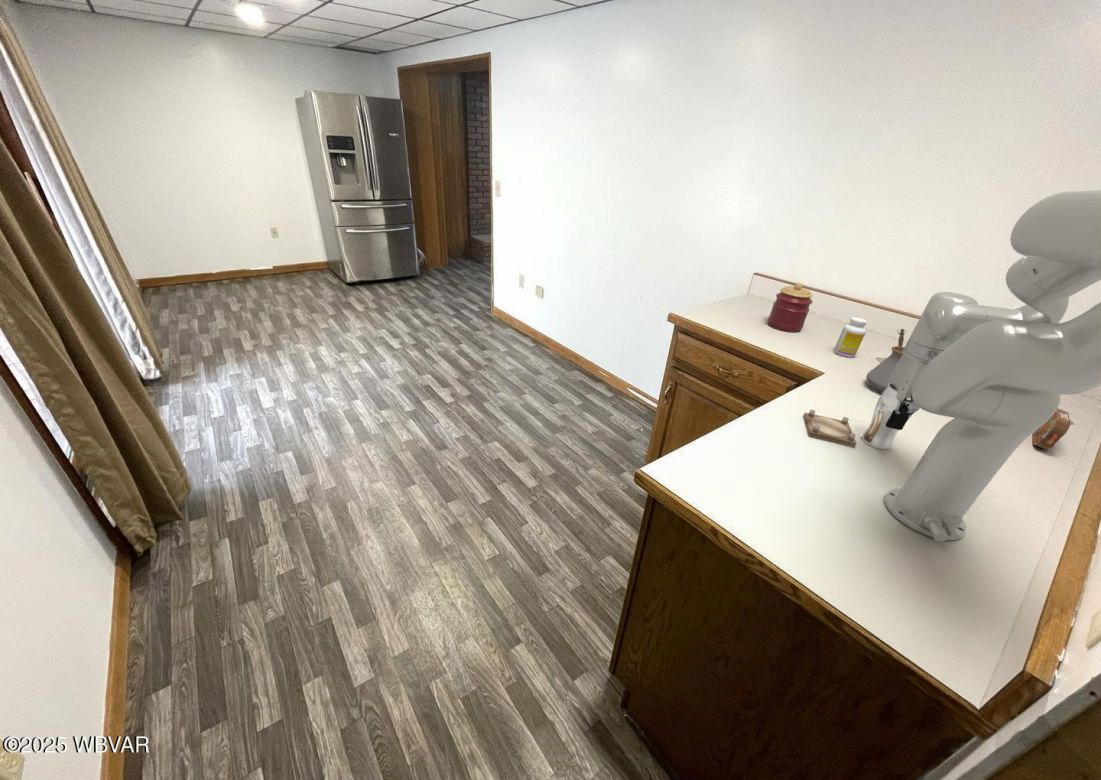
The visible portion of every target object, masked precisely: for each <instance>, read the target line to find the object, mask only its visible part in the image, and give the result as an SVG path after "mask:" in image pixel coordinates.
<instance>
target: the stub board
mask: <svg viewBox="0 0 1101 780" xmlns="http://www.w3.org/2000/svg"><path fill="white" fill-rule="evenodd" d="M803 420H804V425H805V428H806V432H807V435H808V437H809V438H814V439H817V440H818V439H819V440H821V441H825V442H831V443H835V444H838V445H843V446H848V447H851V448H856V446H857V444H858V442H857V440H856V436H857V434H855V433H854V432H853V431H852V428H851V426H850V424H849V418H848V417H846V416H843V417H842V420H841V419H837V418H832V417H828V416H823V415H818V414H816V410H815V409H810V410H809V412H804V414H803Z"/></svg>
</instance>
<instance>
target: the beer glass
mask: <svg viewBox="0 0 1101 780" xmlns="http://www.w3.org/2000/svg"><path fill="white" fill-rule="evenodd" d="M890 385H891V383H889V384H888V385H887V387H886V388H885V390H884V391H883V393H881V395H880V396H879V398H878V401H877V402H876V405H875V406H874V410H873V415H872V418H871V422H870V424H869V426H868V428H867V429H866V430H865V432H863V433H862V435H861V439H862V441H863V442H864V443H865V444H867V445H868V446H870V447H872V448H875V449H877V450H884V451H885V450H886V451H887V450H890V449H892V446H893V445H892V444H893V442H894V438H895V437H896V435H897V433H898V432H899V431H900V430H897V429H892V428H888V427H886V425H885V424H886V423H887V421H888V419H889V417H890V415H891V414H892V412H893V411H894V412H895V410H896V407H897V403H898V400H897V399H896V395H897V391H896V390H894V389H893V388H891V387H890ZM904 401H908V402H910V401H911V398H905V399H904ZM908 406H909V405H908V404H903V405H902V408H904V407H908ZM912 416H913V414H912ZM910 419H911V417H909V419H908V420H907V422H908V421H909V420H910Z"/></svg>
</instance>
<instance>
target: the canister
mask: <svg viewBox="0 0 1101 780" xmlns="http://www.w3.org/2000/svg"><path fill="white" fill-rule="evenodd" d="M779 291H780V292H779V293H778V292H777V293H776V294H775V296H776V299H775V300H774V301H773V303H772V304H773V305H772V307H771V311H770V314H769V315H768V319H767V325H768V326H769V327H771V328H773V329H775V330H778V331H782V332H786V333H799V332H800V331H801V332H802V329H803V328H804V323H805V321H806V319H807V317H808V313H809V312H810V306H811V305H812V304H813V299H811V298H812V297H813V294H812V293H811V292H810V290H808V289H807V288H805V287H804V288H803V284H802V283H795V285H794V286H793V285H788V286H785V287H782V288H780V290H779Z"/></svg>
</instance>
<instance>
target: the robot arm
mask: <svg viewBox="0 0 1101 780" xmlns="http://www.w3.org/2000/svg"><path fill="white" fill-rule="evenodd" d="M1010 245H1011V248H1012V249H1013V251H1015V252H1016V253H1017V254H1019V255H1021V256H1022V257H1021V258H1019V259H1018V260H1017V261H1015V262H1014V263H1013V264H1011V265H1010V267H1009V268H1008V270H1007V272H1006V274H1005V283H1006V286H1007V288H1008V290H1009V291H1010V293H1011V294H1012V295H1013V296H1014V297H1015V298H1016V299H1018V300H1019V301H1020V302H1022V303H1024V304H1025V305H1023V306H1021V307H1019V308H1015V309H1013V308H1012V309H1011V308H1005V307H997V306H990V305H984V304H978V301H977V300H976V299H975V298H973V297H972V296H968V295H965V294H961V293H957V292H950V291H940V292H937V293H935V294H933V295H932V296H931V297H930V299H929V300H928V302H927V304H926V306H925V308H924V310H923V312H922V314H921V315H920V318H919V319H918V321H917V323H916V325H915V327H914V328H913V330H912V332H911V335H910V336H909V339H907V342H906V344H905V346H904V349H903V351H902V352H903V355H902V357H901V358H900V360H899V361H898V363H897V365H896V366H895V368H894V370H893V372H892V374H891V375H890V378H889V380H888V384H889V383H891V385H890V387H891V388H893V389H894V390H896V391H897V395H896V399H897V400H898V403H897V407H896V410H895V412H894V411H893V412H892V414H891V415H890V417H889V419H888V421H887V423H886V424H885V425H886V427H888V428H892V429H897V430H899V431H902V430H903V429H904V427H905V425H906V423H907V422H908V421H909V420H910V419H909V417H910V418H911V417H912V416H913V415H912V414H915V413H916V412H917V411H919V410H920V409H921V410H923V411H925V412H927V413H930V414H934V415H937V416H943V417H947V418H953V419H950V421H948V422H947V423H945V424H944V425H943V426H942V427H940V429H939V430H938V432H937V433H936V434H935V436H934V438H933V439H932V440H931V442H930V444H929V445H928V446H927V448H926V449H925V451H924V453H923V455H922V456H921V458H920V459H919V461H918V462H917V464H916V465H915V467H914V469H913V470H912V471H911V473H910V475H909V476H908V478H907V479H906V481H905V483H904V484H903V485H902V487H901V488H892V489H890V490H888V491H887V492H886V494H885V496H884V504H885V506H886V507H887V510H889V512H890V513H891V514H892V515H893V516H894V518H896V519H897V520H898V521H900V522H901V523H903V524H904V525H905V526H907V527H908V528H909V529H912V530H914V531H915V532H918V533H920V534H922V535H925V536H928V537H931V538H933V540H935V541H936V542H938V543H939V542H941V543H943V542H945V541H958V540H960V539H961V538H963V536H964V535H965V534H966V533H967V526H966V522H964V520H963V518H964V516H965V515H966V514H967V512H968V511H969V510H970V508H971V507H972V506H973V504H974V503H975V502H976V501H977V499H978V498H979V497H980V495H981V494H982V493H983V492H984V490H985V489H986V487H988V484H989V483H990V482H991V481H992V479H994V477H996V476H995V475H996V474H997V473H998V472H999V471H1000V469H1001V468H1002V467H1003V466H1004V464H1005V463H1006V462H1007V461H1008V459H1009V458H1010V457H1011V456H1012V455H1013V453H1014V452H1015V451H1016V450H1017V449H1018V448H1019V447H1020V446H1021V444H1022V443H1023V442H1025V440H1026V439H1028V438H1029V437H1030V436H1031V435H1032V433H1033V432H1035V431H1036V430H1037V429H1039V428H1040V427H1041V426H1042V425H1043V424H1045V423H1046V422H1047V421H1048V420H1049V419H1050V418H1051V417H1052V416H1053V415H1054V413H1055V412H1056V410H1057V408H1058V409H1059V407H1060V402H1061V395H1064V396H1065V395H1077V394H1082V393H1085V392H1088V391H1090V390H1093V389H1095V388H1097V387H1099V386H1101V301H1100V302H1099V303H1097V304H1095V305H1094V306H1092V307H1090V308H1089V309H1088V310H1086V311H1085V312H1083V313H1081V314H1079V315H1078V316H1076V317H1074V318H1072V319H1069V320H1068V321H1063V322H1060V321H1061V320H1062V319H1063V318H1064V316H1065V314H1066V313H1067V309H1068V307H1069V299H1070V298H1069V297H1071V296H1074V295H1075V294H1077V293H1078V292H1081V291H1083V290H1085V289H1086V288H1088V287H1090V286H1092V285H1094V284H1095V283H1097V282H1099V281H1101V189H1097V190H1095V189H1094V190H1077V191H1069V190H1068V191H1062V192H1058V193H1054V194H1051V195H1049V196H1047V197H1045V198H1043V199H1041V200H1039V201H1037V203H1035V204H1033V205H1031V207H1029V208H1028V209H1027V210H1026V211H1025V212H1024V213H1023V214H1022V215H1021V216H1020V217H1019V218H1018V220H1017V221H1016V222H1015V224H1014V226H1013V228H1012V230H1011V234H1010ZM905 398H911V401H910V402H908V401H904V399H905ZM903 404H908V405H909V406H908V407H904V408H902V405H903ZM908 419H909V420H908ZM907 420H908V421H907Z"/></svg>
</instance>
